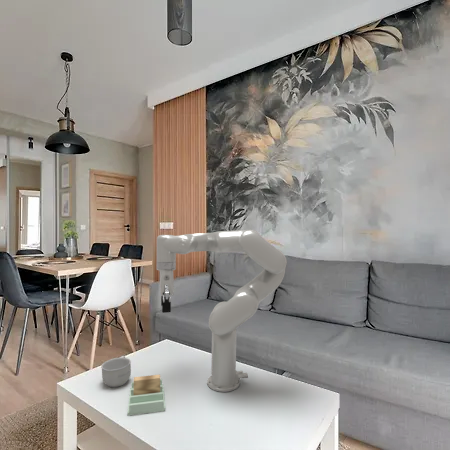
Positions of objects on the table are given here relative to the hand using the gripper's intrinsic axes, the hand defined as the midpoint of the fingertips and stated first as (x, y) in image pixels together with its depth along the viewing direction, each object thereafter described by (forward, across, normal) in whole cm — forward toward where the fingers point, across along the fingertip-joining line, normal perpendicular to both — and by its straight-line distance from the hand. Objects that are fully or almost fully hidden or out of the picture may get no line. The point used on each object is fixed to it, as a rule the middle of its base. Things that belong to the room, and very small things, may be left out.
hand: (165, 308), depth 123 cm
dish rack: (+28, -13, +7) cm, 32 cm away
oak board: (+27, -13, +7) cm, 31 cm away
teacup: (+29, +3, +18) cm, 34 cm away
